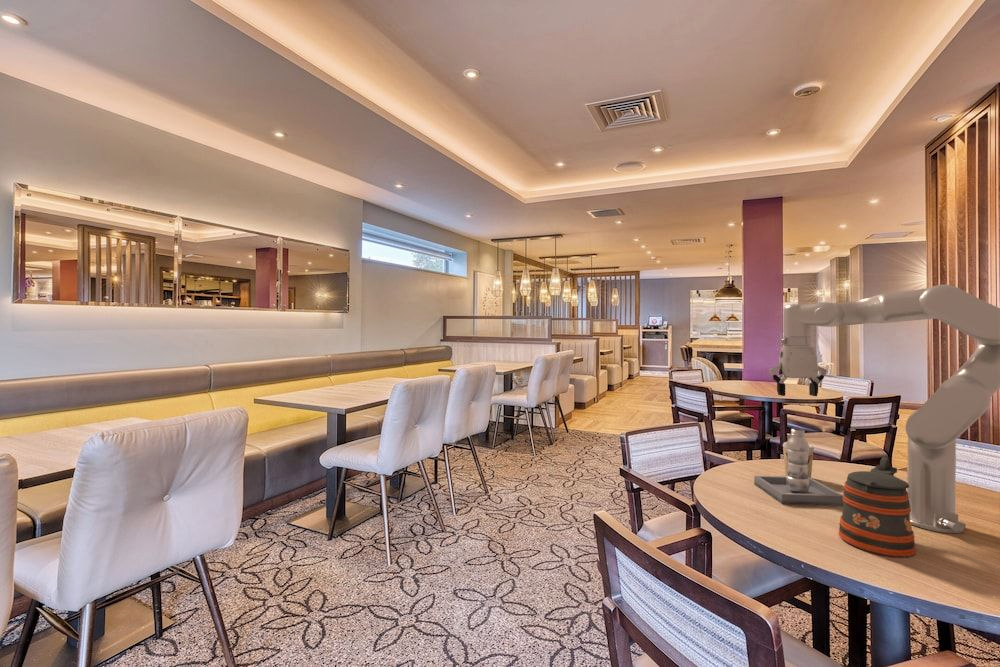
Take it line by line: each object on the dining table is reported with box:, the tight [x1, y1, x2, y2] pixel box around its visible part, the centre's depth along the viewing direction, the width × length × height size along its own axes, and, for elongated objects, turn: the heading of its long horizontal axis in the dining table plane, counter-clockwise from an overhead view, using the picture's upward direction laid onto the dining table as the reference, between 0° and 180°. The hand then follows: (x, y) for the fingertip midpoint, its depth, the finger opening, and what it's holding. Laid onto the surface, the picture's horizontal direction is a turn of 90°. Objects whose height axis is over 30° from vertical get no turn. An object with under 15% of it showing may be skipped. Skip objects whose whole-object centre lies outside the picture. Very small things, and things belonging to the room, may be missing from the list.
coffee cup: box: [782, 441, 815, 478], centre depth 162 cm, size 9×9×12 cm
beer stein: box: [838, 455, 916, 558], centre depth 113 cm, size 19×15×20 cm
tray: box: [753, 475, 844, 507], centre depth 145 cm, size 18×18×3 cm
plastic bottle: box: [785, 428, 810, 493], centre depth 145 cm, size 6×7×20 cm
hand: (797, 395), depth 145 cm, fingers open, 9 cm apart
